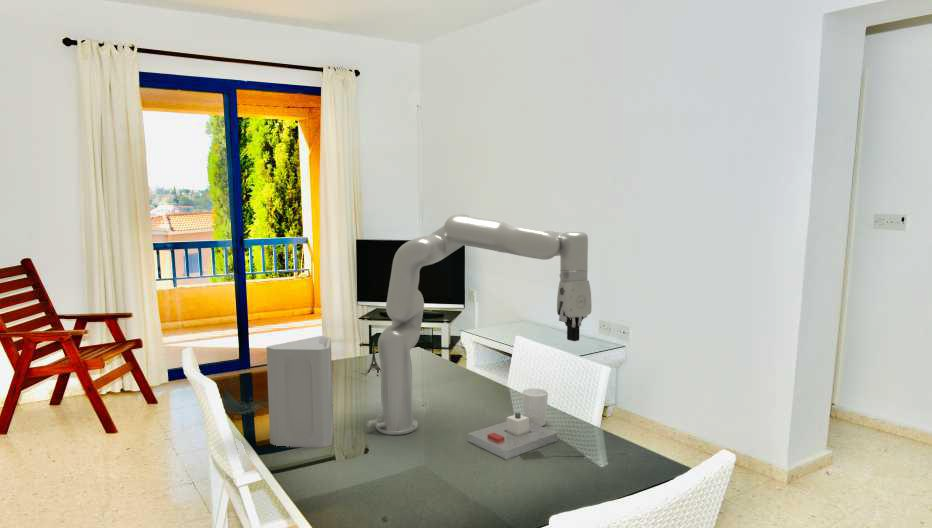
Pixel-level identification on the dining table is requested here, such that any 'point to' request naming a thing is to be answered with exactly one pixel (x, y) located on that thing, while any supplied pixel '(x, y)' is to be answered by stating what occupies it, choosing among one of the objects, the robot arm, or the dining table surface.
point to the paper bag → (300, 393)
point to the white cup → (535, 405)
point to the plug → (517, 425)
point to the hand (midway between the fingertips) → (573, 340)
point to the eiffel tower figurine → (374, 362)
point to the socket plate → (511, 439)
